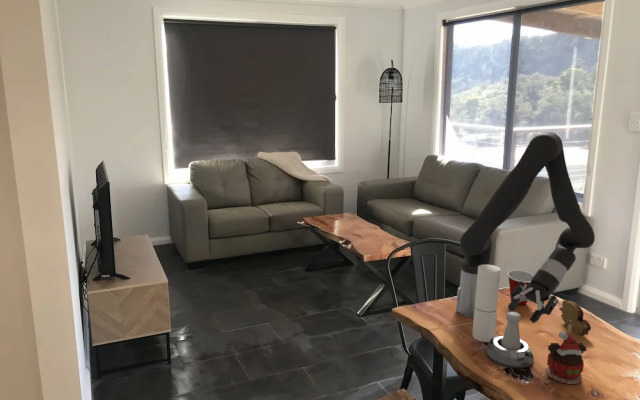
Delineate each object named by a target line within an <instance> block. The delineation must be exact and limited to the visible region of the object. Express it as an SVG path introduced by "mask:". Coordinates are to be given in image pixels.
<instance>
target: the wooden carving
mask: <svg viewBox="0 0 640 400" xmlns="http://www.w3.org/2000/svg"><path fill="white" fill-rule="evenodd" d="M562 300H563V299H562ZM561 304H562V306H560V307H558V308H559V311H560V312H561V315H560V317H561V319H562V321H563V322H564V324H565V325H566V327H568V323H569V320H571V321H572V328H571V332H577V334H578V335H579V336H581V337H584V336H587V335H589V332H590V331H591V330H592V326H591V324H590V322H589V321H588V320H587V319H584V311H583V309H582V307H581V306H580V305H579V304H578V303H576V301H575V302H574V301H573V300H570V299H564V300H563V301H562V303H561Z"/></svg>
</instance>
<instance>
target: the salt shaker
mask: <svg viewBox="0 0 640 400" xmlns="http://www.w3.org/2000/svg"><path fill="white" fill-rule="evenodd" d="M505 318H506V320H507V322H506V325H505V330H504V332H503V335H502V336H503V338H502V341H501V344H502V347H503V348H506V349H508V350H519V349H520V347H521V344H520V339H521V333H520V326H519V325H520V324H519V323H520V322H521V320H522V317H521V314H520V313H518V312H516V311H513V312H511V311H508V312H507V313H506V315H505Z"/></svg>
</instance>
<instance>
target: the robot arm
mask: <svg viewBox="0 0 640 400" xmlns="http://www.w3.org/2000/svg"><path fill="white" fill-rule="evenodd" d="M562 140H563V139H561V137H560V136H559V134H557V133H554V132H550V131H546V132H543V133H539V134H537V135H535V136H534V137H532V139H531V140H530V141H529V143H528V145H527V146H526V148H525V150H524V152H523V153H522V156H521V158H520V159H519V160H518V162H517V164H516V165H515V166H514V167H513V169H512V170H511V171H510V172H509V173H508V174H507V176H506V177H505V178H504V179H503V181H502V182H501V183H499V185H498V187H497V188H496V189H495V191H494V193H493V194H492V196H491V197H490V198H489V200H488V202H487V203H486V204H485V206H484V208H483V209H482V210H481V213H480V214H479V216H477V218H476V220H475V221H474V222H473V223H472V224H471V225H470V226H469V227H468V229H466V230H465V232H464V233H463V234H462V235H461V237H460V241H459V245H460V249H461V251H462V252H463V254H465V256H464V258H463V260H462V262H461V265H460V266H461V268H460V270H461V271H460V280H459V283H460V284H459V287H457V293H456V305H455V307H456V308H455V312H456V313H459V314H460V315H461V316H463V317H466V318H471V319H472V318H473V319H474V310H475V298H476V286H477V274H478V266H480V265H490V260H491V253H492V246H493V245H492V243H493V240H492V239H493V238H492V235H493V234H494V232H495V231H496V229H498V228H499V227H500V226H501V225H502V224H503V223H504V222H506V221H507V220H508V218H510V216H511V215H513V213H515V212H516V210H517V209H518V208H519V206H521V204H522V202H524V199H525V198H526V196H528V193H529V191H530V189H531V187H532V184H533V183H534V181H535V179H536V177H537V176H538V175H539V173H541V171H543V169H544V168H545V170H546V172H547V177H548V180H549V186H550V195H551V199H552V203H553V206H554V208H555V212H556V214H557V217H558V219H559V220H560V221H561V222H563V223H566V224H567V225H568V227H566V228H564V229H563V231H562V232H561V233H560V235H559V237H558V239H557V242H556V243H555V244H556V245H555V248H554V250H553V251H552V252H551V253H550V255H549V256H548V258H547V259H546V260H545V261H544V262H543V263H542V265H540V267H539V268H538V270H537V271H536V273H534V274H533V275H534V277H533V278H532V279H531V283H530V284H529V285H526V284H524V283H523V282H522V281H521V282H519V284H518V285H517V286H516V287H515V288H514V290H513V291H512V292H511V293H510V292H509V295H511V296H512V297H513V300H512V302H511V301H510V302H509V304H508V307H507V310H509V312H515V309H516V308H517V307H518V304H519V302H522V301H527V300H528V301H527V302H531V303H534V304H535V305H536V306H537V309H535V310H534V311H533V313H532V314H531V316H530V317H529V321H530V322H532V324H535V323H537V322H538V321H539V320H540V318H541V317H542V316H543V315H547V316H550V315H551V314H552V312H553V311H554V309H555V307H556V306H557V304H558V303H559V299H558V298H557V296H556V295H555V294H554V293H555V291H556V290H557V289H558V287H559V286H560V284H561V283H562V282H563V280H564V279H565V277H566V275H567V273H568V271H569V270H570V269H571V268H572V266H573V265H574V263H575V262H576V254H575V253H574V252H575V250H576V249H588V248H590V247H591V246H592V245H594V243H595V240H596V239H595V238H596V236H595V232H594V229H593V227H592V226H591V225H592V224H591V223H590V222H589V221H588V219H587V218H586V216H585V215H584V213H583V212H582V210H581V207H580V204H579V200H578V198H577V195H576V193H575V190H574V187H573V185H572V184H573V183H572V182H571V178H570V174H569V172H568V168H567V163H566V158H565V152H564V151H565V150H564V146H563V141H562ZM525 289H526V290H525ZM524 290H525V291H524ZM522 291H523V292H522ZM524 295H526V296H524ZM511 296H510V297H511ZM545 302H547V303H546V304H545Z"/></svg>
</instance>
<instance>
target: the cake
mask: <svg viewBox="0 0 640 400" xmlns="http://www.w3.org/2000/svg"><path fill="white" fill-rule="evenodd" d="M571 328H572V321H571V320H569V323H568V326H567V331H566V332H565V331H560V332H559V333H558V337H559V338H560V339H561V340H563V341H562V343H561V344H560V343H558V342H550V344H548V347H547V350H548V351H549V353H548V354H547V362H546V363H547V367H546V374H547V375H548V377H550V378H553V380H554V381H558V382H560V383H566V384H569V385H570V384H571V385H572V384H573V385H577V383H580V382H581V381H582V379H583V378H582V376H583V375H582V373H583V372H584V366H585V363H584V361H585V360H584V359H583V356H582V354H584V352H586V351H587V346H586V345H585V344H584V343H583V342H578V341H577V340H576V339H575V338H574V337H573V335H572V330H571Z"/></svg>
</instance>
